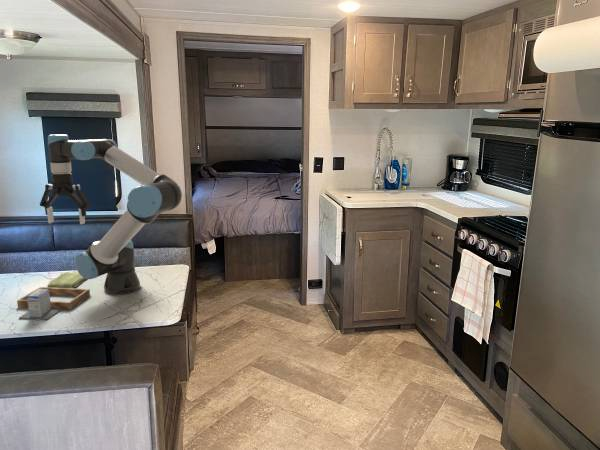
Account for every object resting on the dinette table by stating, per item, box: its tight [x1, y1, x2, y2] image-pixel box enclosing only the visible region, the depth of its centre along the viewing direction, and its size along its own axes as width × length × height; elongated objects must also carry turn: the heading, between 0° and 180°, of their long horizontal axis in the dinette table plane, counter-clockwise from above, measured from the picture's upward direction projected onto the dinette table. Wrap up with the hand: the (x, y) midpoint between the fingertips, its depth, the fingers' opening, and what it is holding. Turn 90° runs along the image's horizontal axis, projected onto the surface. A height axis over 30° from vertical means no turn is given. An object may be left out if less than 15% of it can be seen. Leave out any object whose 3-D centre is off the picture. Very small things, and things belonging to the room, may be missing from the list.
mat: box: [18, 309, 62, 321], centre depth 174 cm, size 11×9×1 cm
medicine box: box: [27, 288, 51, 317], centre depth 173 cm, size 8×4×9 cm, turn 3°
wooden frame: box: [16, 286, 91, 311], centre depth 186 cm, size 22×15×3 cm
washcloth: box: [46, 271, 87, 289], centre depth 208 cm, size 13×18×3 cm
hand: (66, 223), depth 188 cm, fingers open, 13 cm apart
